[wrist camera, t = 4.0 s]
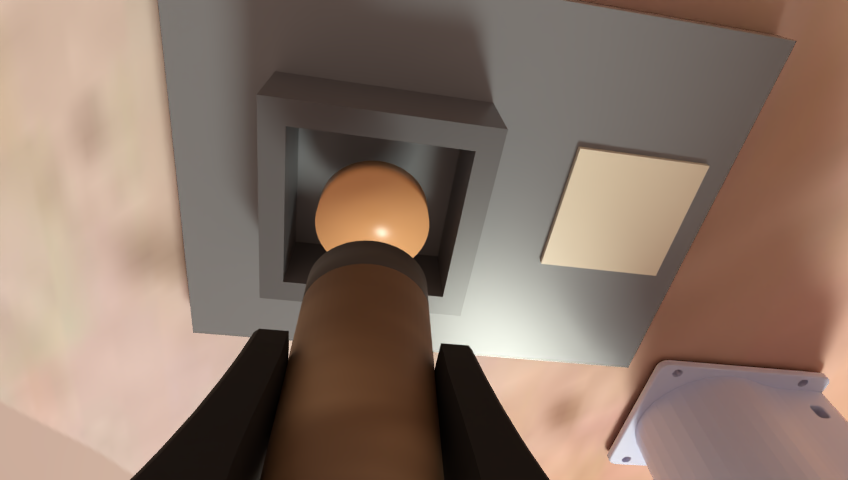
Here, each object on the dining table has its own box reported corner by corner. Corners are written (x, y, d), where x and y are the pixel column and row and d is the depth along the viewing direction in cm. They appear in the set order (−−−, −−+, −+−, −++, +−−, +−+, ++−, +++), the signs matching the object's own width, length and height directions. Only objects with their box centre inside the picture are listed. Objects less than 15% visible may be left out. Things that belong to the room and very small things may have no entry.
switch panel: (776, 35, 17) (858, 59, 14) (620, 352, 25) (651, 412, 22) (163, -73, 15) (104, -71, 12) (200, 317, 23) (170, 378, 20)
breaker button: (435, 167, 16) (438, 181, 15) (418, 260, 18) (420, 276, 17) (322, 153, 16) (318, 166, 15) (316, 249, 18) (312, 266, 17)
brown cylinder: (435, 245, 13) (492, 720, 5) (419, 338, 15) (446, 797, 7) (306, 235, 12) (173, 728, 5) (306, 331, 14) (206, 807, 7)
